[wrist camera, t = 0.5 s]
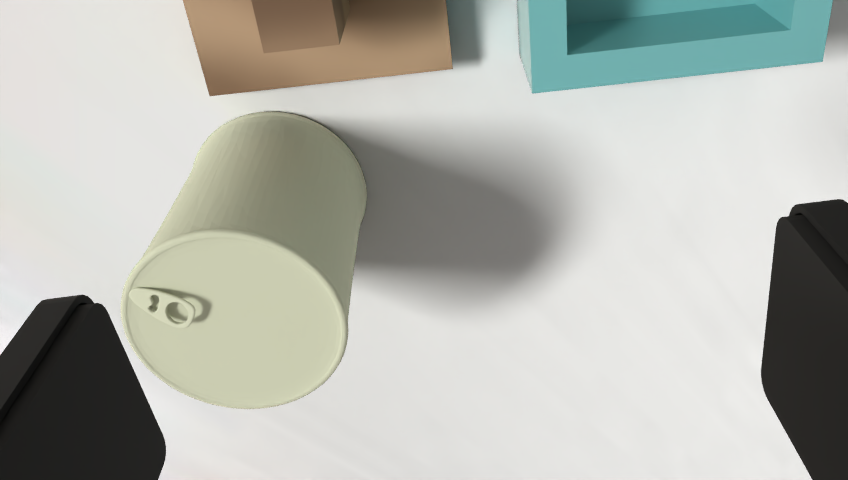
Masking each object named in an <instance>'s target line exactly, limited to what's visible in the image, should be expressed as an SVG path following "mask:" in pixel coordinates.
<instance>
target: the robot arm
mask: <svg viewBox="0 0 848 480" xmlns="http://www.w3.org/2000/svg"><path fill="white" fill-rule="evenodd" d="M761 378H762V384H763V388H764V392H765V394H766V397H767V399H768V401H769V402H770V404H771V406H772V408H773V410H774V411H775V413H776V415H777V417H778V419H779V420H780V422H781V424H782V426H783V428H784V429H785V431H786V433H787V435H788V437H789V438H790V440H791V442H792V444H793V445H794V447H795V449H796V451H797V453H798V454H799V456H800V458H801V460H802V462H803V463H804V465H805V467H806V469H807V471H808V472H809V474H810V476H811V478H812V480H848V203H847V202H845V201H844V200H840V199H837V200H829V201H821V202H813V203H805V204H797V205H795V206H794V207H793V208H792V210H791V212H790V215H789V216H788V217H781V218H780V219H779V221H778V223H777V227H776V234H775V244H774V253H773V263H772V272H771V282H770V291H769V301H768V310H767V320H766V329H765V339H764V348H763V358H762V367H761ZM165 456H166V445H165V440H164V437H163V434H162V432H161V430H160V428H159V425H158V423H157V421H156V419H155V416H154V414H153V412H152V410H151V408H150V405H149V403H148V401H147V399H146V396H145V394H144V392H143V390H142V388H141V385H140V383H139V381H138V379H137V376H136V374H135V372H134V370H133V368H132V365H131V363H130V361H129V359H128V356H127V354H126V352H125V350H124V348H123V345H122V343H121V341H120V339H119V336H118V334H117V332H116V330H115V328H114V325H113V323H112V321H111V319H110V316H109V314H108V312H107V310H106V309H105V307H104V306H103V305H102V304H99V303H94V302H93V301H92V300H91V299H90V298H89V297H88V296H85V295H77V296H69V297H61V298H53V299H46V300H43V301H41V302H40V303H39V304H38V305H37V306H36V307H35V309H34V310H33V311H32V313H31V314H30V316H29V317H28V318H27V320H26V321H25V322H24V324H23V325H22V326H21V328H20V329H19V331H18V332H17V333H16V335H15V336H14V337H13V339H12V340H11V341H10V343H9V344H8V346H7V347H6V348H5V350H4V351H3V352H2V354H1V355H0V480H158V478H159V475H160V473H161V470H162V468H163V465H164V461H165Z"/></svg>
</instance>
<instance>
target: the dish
mask: <svg viewBox="0 0 848 480" xmlns="http://www.w3.org/2000/svg"><path fill="white" fill-rule="evenodd" d="M832 2H833V0H517V14H518V34H519V54H520V58H521V61H522V64H523V67H524V70H525V73H526V76H527V79H528V82H529V85H530V88H531V91H532V93H541V92H550V91H559V90H568V89H578V88H587V87H596V86H605V85H614V84H623V83H632V82H642V81H651V80H660V79H669V78H678V77H687V76H696V75H706V74H715V73H724V72H733V71H742V70H751V69H760V68H770V67H779V66H788V65H797V64H806V63H815V62H823V56H824V50H825V44H826V38H827V32H828V26H829V20H830V14H831V8H832Z"/></svg>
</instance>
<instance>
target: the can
mask: <svg viewBox="0 0 848 480" xmlns="http://www.w3.org/2000/svg"><path fill="white" fill-rule="evenodd" d="M366 203H367V190H366V183H365V179H364V175H363V172H362V170H361V167H360V165H359V163H358V161H357V159H356V158H355V156H354V155H353V153H352V152H351V150H350V149H349V148H348V147H347V145H346V144H345V143H344V142H343V141H342V140H341V139H340V138H339V137H338V136H336V135H335V134H334V133H333V132H331V131H330V130H328V129H327V128H325V127H324V126H322V125H320V124H318V123H316V122H314V121H312V120H310V119H307V118H305V117H302V116H298V115H295V114H290V113H284V112H258V113H252V114H248V115H244V116H241V117H238V118H236V119H233V120H231V121H229V122H227V123H226V124H224V125H222V126H221V127H219V128H218V129H217V130H216V131H214V132H213V133H212V134H211V135H210V136H209V137H208V138H207V140H206V141H205V142H204V144H203V145H202V147H201V148H200V150H199V152H198V154H197V156H196V159H195V161H194V164H193V169H192V171H191V173H190V175H189V177H188V179H187V181H186V182H185V184H184V186H183V188H182V190H181V191H180V193H179V195H178V197H177V198H176V200H175V202H174V204H173V206H172V207H171V209H170V211H169V213H168V214H167V216H166V218H165V220H164V222H163V223H162V225H161V227H160V228H159V230H158V232H157V233H156V235H155V237H154V238H153V240H152V242H151V244H150V245H149V247H148V249H147V250H146V252H145V253H144V255H143V257H142V258H141V260H140V261H139V262H138V263H137V264H136V266H135V267H134V268H133V270H132V271H131V273H130V275H129V277H128V279H127V281H126V283H125V286H124V289H123V293H122V298H121V319H122V324H123V328H124V331H125V334H126V337H127V339H128V341H129V343H130V345H131V347H132V349H133V350H134V352H135V353H136V355H137V356H138V358H139V359H140V360H141V361H142V363H143V364H144V365H145V366H146V367H147V368H148V369H149V370H150V371H151V372H152V373H153V374H154V375H155V376H157V377H158V378H159V379H160V380H162V381H163V382H165V383H166V384H167V385H169V386H170V387H172V388H174V389H176V390H177V391H179V392H181V393H183V394H185V395H187V396H189V397H192V398H194V399H197V400H200V401H203V402H206V403H209V404H213V405H217V406H223V407H228V408H238V409H260V408H268V407H274V406H279V405H283V404H286V403H289V402H292V401H295V400H297V399H300V398H302V397H304V396H306V395H308V394H309V393H311V392H312V391H314V390H315V389H317V388H318V387H320V386H321V385H322V384H323V383H324V382H325V381H326V380H327V379H328V378H329V377H330V376H331V375H332V374H333V373H334V371H335V370H336V368H337V367H338V365H339V363H340V362H341V359H342V357H343V355H344V352H345V348H346V345H347V339H348V313H349V305H350V296H351V287H352V280H353V272H354V264H355V257H356V249H357V243H358V236H359V230H360V225H361V222H362V220H363V217H364V214H365V209H366Z"/></svg>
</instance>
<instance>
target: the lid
mask: <svg viewBox="0 0 848 480" xmlns="http://www.w3.org/2000/svg"><path fill="white" fill-rule="evenodd" d="M183 2H184V6H185V10H186V13H187V17H188V20H189V24H190V27H191V31H192V35H193V38H194V42H195V45H196V49H197V52H198V56H199V59H200V63H201V67H202V70H203V74H204V77H205V81H206V84H207V88H208V92H209V95H210V96H215V95H224V94H233V93H242V92H251V91H260V90H269V89H278V88H287V87H296V86H304V85H313V84H322V83H331V82H340V81H349V80H358V79H367V78H376V77H385V76H394V75H403V74H412V73H421V72H429V71H438V70H447V69H453V68H452V57H451V47H450V37H449V27H448V17H447V7H446V0H183Z"/></svg>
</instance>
